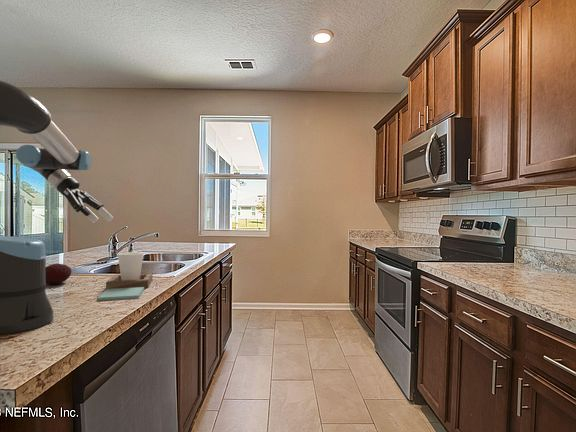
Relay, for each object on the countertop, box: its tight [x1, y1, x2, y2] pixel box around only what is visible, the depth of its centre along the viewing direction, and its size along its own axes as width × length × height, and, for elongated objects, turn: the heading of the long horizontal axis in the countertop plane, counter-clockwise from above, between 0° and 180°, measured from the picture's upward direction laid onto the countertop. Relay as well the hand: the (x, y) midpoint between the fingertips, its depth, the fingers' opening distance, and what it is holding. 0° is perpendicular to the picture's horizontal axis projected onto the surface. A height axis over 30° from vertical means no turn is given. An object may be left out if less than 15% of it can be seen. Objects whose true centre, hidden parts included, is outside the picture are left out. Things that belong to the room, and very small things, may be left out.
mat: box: [96, 287, 145, 302], centre depth 118 cm, size 13×13×1 cm
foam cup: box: [117, 251, 144, 280], centre depth 134 cm, size 10×9×13 cm
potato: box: [45, 263, 72, 285], centre depth 135 cm, size 12×11×8 cm
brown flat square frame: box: [105, 272, 154, 290], centre depth 134 cm, size 15×15×3 cm
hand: (103, 220), depth 133 cm, fingers open, 13 cm apart
